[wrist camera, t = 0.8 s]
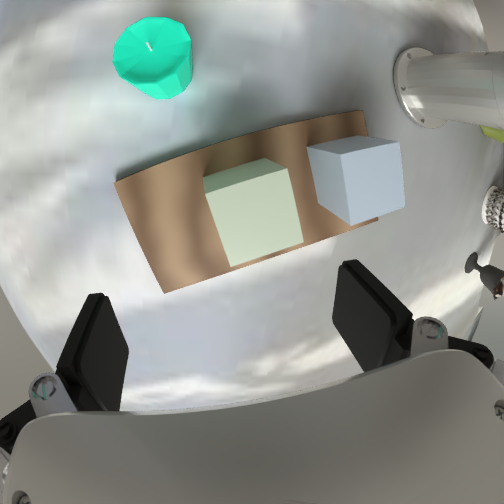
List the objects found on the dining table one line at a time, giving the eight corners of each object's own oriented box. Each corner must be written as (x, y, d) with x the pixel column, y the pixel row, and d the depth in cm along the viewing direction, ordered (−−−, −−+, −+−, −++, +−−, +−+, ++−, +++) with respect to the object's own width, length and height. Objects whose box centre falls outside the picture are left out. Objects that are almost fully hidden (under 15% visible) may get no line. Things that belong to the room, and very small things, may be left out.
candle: (181, 105, 26) (172, 90, 15) (130, 93, 24) (93, 76, 14) (201, 56, 24) (204, 16, 13) (149, 45, 22) (125, 3, 11)
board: (358, 110, 29) (365, 110, 28) (374, 217, 36) (380, 221, 35) (115, 181, 28) (112, 184, 27) (164, 289, 35) (163, 296, 33)
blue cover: (357, 135, 30) (399, 141, 23) (365, 188, 33) (404, 207, 26) (306, 146, 30) (339, 154, 22) (318, 203, 33) (350, 225, 26)
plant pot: (474, 143, 34) (511, 153, 27) (471, 93, 30) (509, 97, 22) (496, 145, 35) (528, 154, 28) (494, 100, 31) (527, 105, 23)
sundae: (481, 258, 47) (526, 290, 33) (466, 280, 48) (509, 316, 35) (475, 243, 44) (525, 276, 31) (459, 267, 46) (508, 305, 32)
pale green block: (264, 157, 29) (287, 168, 22) (279, 215, 32) (303, 242, 25) (202, 177, 29) (204, 194, 22) (222, 234, 32) (230, 267, 25)
